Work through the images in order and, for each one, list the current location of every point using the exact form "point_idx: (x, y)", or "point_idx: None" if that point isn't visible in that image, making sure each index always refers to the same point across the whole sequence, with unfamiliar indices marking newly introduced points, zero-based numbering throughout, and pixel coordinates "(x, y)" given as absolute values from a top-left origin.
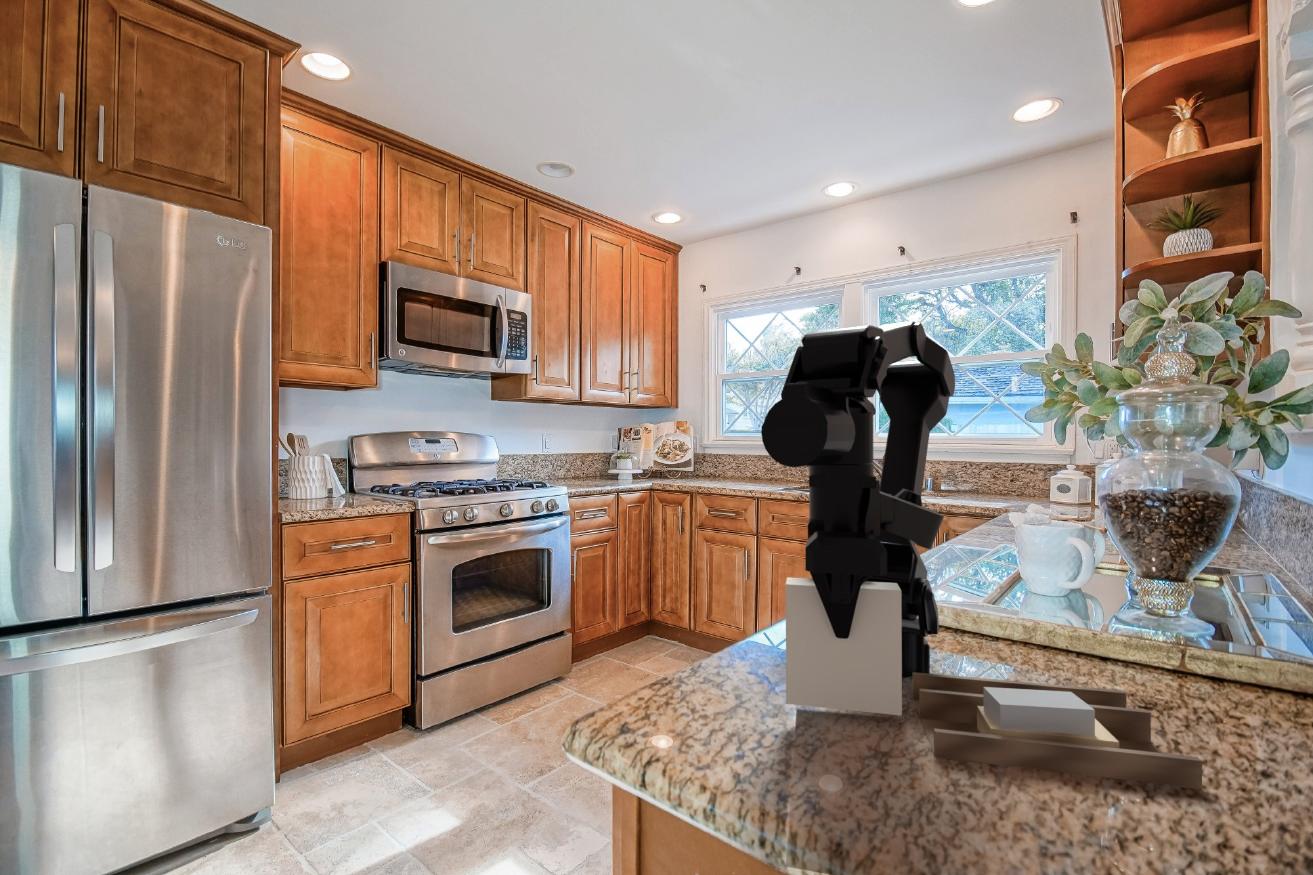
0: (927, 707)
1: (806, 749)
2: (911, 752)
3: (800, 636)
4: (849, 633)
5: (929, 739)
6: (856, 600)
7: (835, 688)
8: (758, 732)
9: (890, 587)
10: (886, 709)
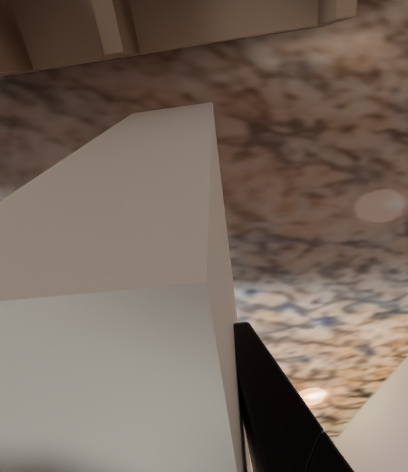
0: (129, 33)
1: (282, 248)
2: (235, 75)
3: None
4: (252, 330)
5: (250, 33)
6: (346, 463)
7: (229, 258)
8: (248, 313)
9: (102, 370)
10: (216, 139)
